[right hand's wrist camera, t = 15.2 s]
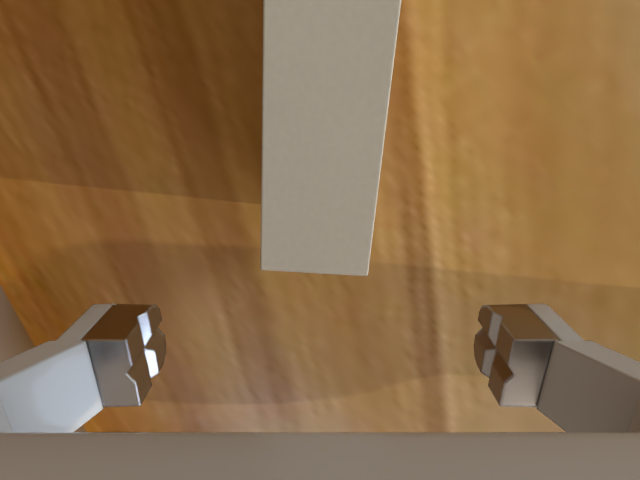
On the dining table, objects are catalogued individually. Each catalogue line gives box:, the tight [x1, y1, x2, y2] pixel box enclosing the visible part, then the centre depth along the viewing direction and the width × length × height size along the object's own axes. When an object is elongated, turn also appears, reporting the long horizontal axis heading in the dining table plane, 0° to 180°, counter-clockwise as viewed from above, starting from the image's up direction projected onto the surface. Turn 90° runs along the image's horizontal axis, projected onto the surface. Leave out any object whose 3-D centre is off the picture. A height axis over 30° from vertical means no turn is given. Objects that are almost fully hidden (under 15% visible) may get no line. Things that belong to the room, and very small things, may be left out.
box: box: [261, 0, 401, 276], centre depth 24 cm, size 26×6×12 cm, turn 176°
